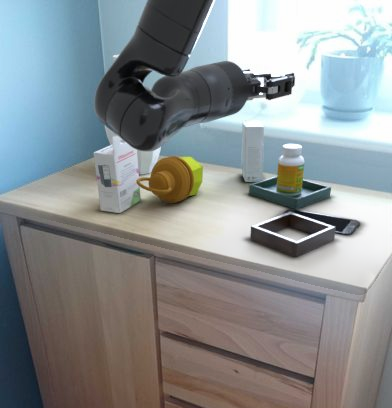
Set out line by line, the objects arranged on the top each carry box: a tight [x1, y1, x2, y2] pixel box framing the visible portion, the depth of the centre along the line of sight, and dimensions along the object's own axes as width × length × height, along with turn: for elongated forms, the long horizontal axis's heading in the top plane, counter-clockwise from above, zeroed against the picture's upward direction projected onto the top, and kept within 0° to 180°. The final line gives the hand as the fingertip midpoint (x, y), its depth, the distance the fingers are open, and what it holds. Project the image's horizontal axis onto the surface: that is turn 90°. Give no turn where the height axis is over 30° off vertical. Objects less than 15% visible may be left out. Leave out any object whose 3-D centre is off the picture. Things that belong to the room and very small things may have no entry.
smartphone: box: [280, 208, 361, 236], centre depth 107 cm, size 7×15×1 cm, turn 61°
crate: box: [249, 212, 336, 258], centre depth 99 cm, size 11×11×2 cm
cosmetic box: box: [241, 120, 265, 183], centre depth 127 cm, size 6×4×12 cm
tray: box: [248, 175, 332, 210], centre depth 119 cm, size 13×11×2 cm
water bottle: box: [137, 155, 204, 204], centre depth 116 cm, size 9×9×25 cm
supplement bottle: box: [276, 143, 305, 196], centre depth 117 cm, size 5×5×10 cm
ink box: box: [92, 136, 142, 214], centre depth 112 cm, size 9×5×15 cm, turn 154°
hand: (269, 77), depth 93 cm, fingers open, 8 cm apart
